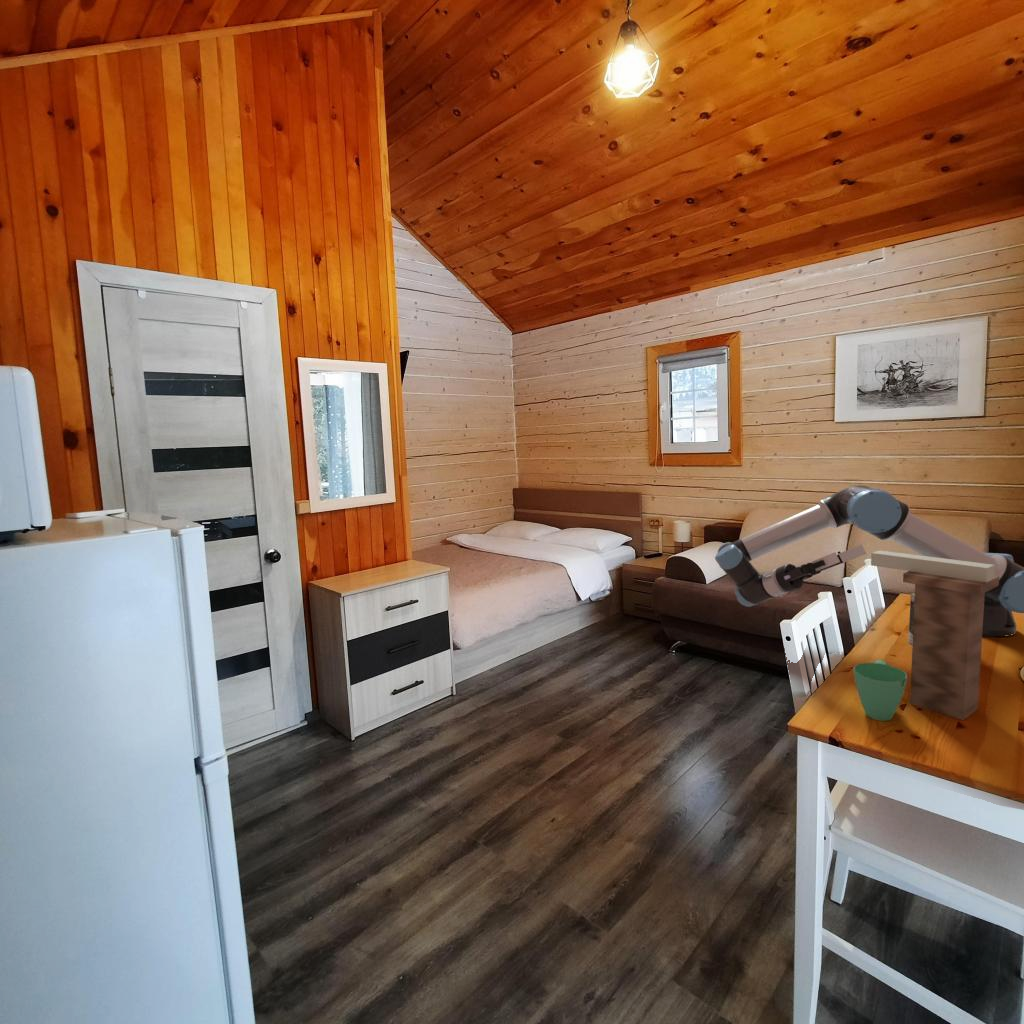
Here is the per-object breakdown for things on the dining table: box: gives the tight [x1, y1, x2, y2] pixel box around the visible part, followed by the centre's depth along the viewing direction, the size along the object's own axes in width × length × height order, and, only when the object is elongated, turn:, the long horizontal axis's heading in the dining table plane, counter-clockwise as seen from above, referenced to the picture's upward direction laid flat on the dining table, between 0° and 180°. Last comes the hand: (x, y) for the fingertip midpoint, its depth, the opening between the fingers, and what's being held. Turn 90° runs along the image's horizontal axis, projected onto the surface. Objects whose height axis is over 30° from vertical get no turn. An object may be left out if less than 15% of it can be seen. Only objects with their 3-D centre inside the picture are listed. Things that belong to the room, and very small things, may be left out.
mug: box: [853, 659, 909, 722], centre depth 127 cm, size 15×10×10 cm
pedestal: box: [902, 571, 999, 721], centre depth 126 cm, size 14×10×30 cm
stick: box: [870, 549, 995, 582], centre depth 128 cm, size 22×4×3 cm, turn 34°
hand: (850, 553), depth 150 cm, fingers open, 13 cm apart
